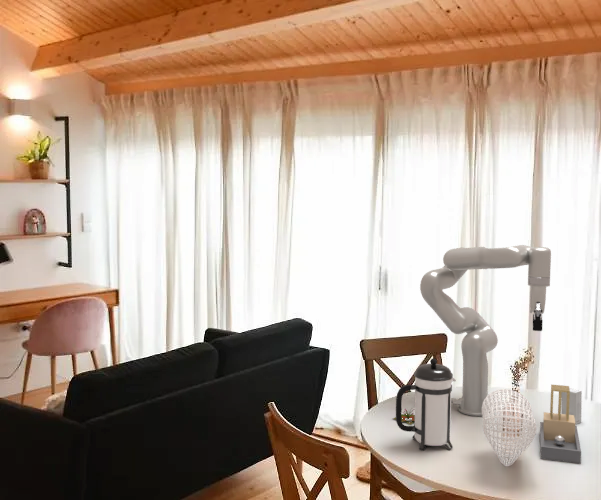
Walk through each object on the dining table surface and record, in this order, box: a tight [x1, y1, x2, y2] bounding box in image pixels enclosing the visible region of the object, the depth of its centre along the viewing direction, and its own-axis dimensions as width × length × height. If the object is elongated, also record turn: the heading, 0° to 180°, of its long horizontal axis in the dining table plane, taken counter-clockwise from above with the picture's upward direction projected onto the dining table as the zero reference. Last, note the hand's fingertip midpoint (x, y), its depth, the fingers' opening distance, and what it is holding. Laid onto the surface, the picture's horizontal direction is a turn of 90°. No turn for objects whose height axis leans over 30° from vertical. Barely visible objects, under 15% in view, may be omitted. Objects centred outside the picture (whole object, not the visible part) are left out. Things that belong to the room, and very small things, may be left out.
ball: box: [554, 435, 565, 445], centre depth 228 cm, size 3×3×3 cm
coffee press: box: [395, 357, 457, 452], centre depth 230 cm, size 17×16×30 cm
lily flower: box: [393, 408, 415, 426], centre depth 256 cm, size 12×12×5 cm
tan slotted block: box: [549, 384, 570, 421], centre depth 234 cm, size 6×6×11 cm
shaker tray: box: [539, 411, 582, 465], centre depth 229 cm, size 12×24×8 cm, turn 161°
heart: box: [481, 388, 537, 467], centre depth 213 cm, size 28×16×22 cm, turn 167°
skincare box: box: [561, 387, 583, 425], centre depth 253 cm, size 6×4×12 cm
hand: (537, 327), depth 247 cm, fingers open, 9 cm apart
